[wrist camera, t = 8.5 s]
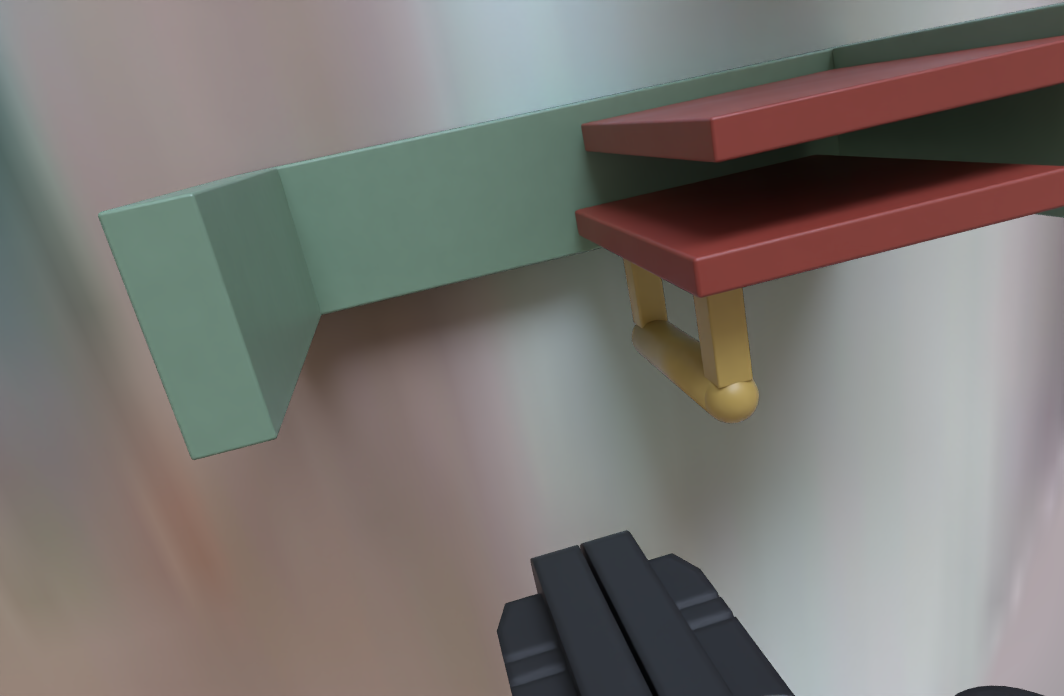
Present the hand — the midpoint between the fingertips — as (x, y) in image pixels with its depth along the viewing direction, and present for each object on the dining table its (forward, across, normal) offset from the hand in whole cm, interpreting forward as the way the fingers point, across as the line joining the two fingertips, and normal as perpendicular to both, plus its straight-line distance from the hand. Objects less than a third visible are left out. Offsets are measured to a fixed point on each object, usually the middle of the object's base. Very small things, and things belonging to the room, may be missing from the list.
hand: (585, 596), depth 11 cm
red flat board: (+13, -8, -2) cm, 15 cm away
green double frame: (+14, -4, -4) cm, 16 cm away
